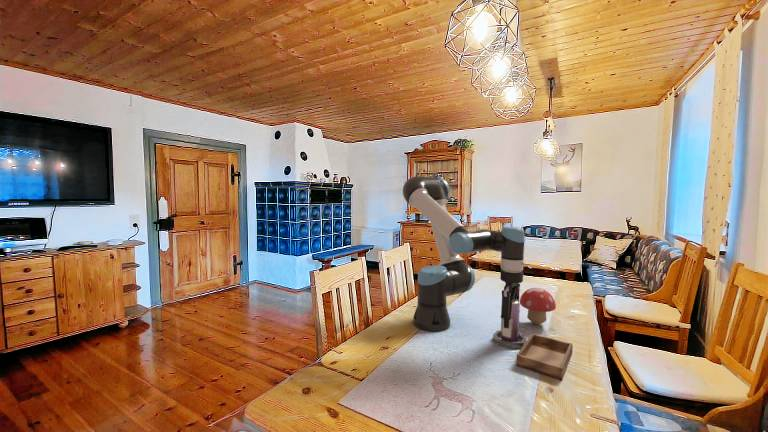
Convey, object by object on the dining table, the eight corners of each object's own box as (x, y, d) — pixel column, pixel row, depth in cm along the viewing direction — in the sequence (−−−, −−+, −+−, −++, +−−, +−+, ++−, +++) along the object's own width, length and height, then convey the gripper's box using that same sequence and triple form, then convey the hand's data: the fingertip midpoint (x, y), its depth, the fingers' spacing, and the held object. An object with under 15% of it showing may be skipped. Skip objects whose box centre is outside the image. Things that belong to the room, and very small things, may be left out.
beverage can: (519, 339, 116) (521, 299, 115) (516, 346, 111) (518, 304, 110) (502, 335, 120) (503, 296, 118) (499, 341, 114) (500, 301, 113)
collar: (490, 342, 114) (490, 337, 114) (499, 332, 123) (499, 328, 123) (520, 351, 108) (520, 346, 108) (528, 340, 116) (528, 335, 116)
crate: (516, 365, 99) (516, 354, 99) (531, 342, 114) (532, 333, 114) (562, 380, 91) (562, 368, 91) (572, 353, 107) (572, 343, 106)
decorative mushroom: (523, 329, 126) (524, 292, 125) (515, 316, 139) (516, 283, 138) (560, 332, 123) (561, 294, 122) (548, 319, 136) (550, 284, 135)
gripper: (514, 277, 104) (512, 345, 106) (529, 267, 119) (527, 327, 120) (492, 273, 109) (490, 339, 110) (509, 264, 123) (507, 322, 125)
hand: (509, 332), depth 115 cm, fingers closed on beverage can, 6 cm apart
